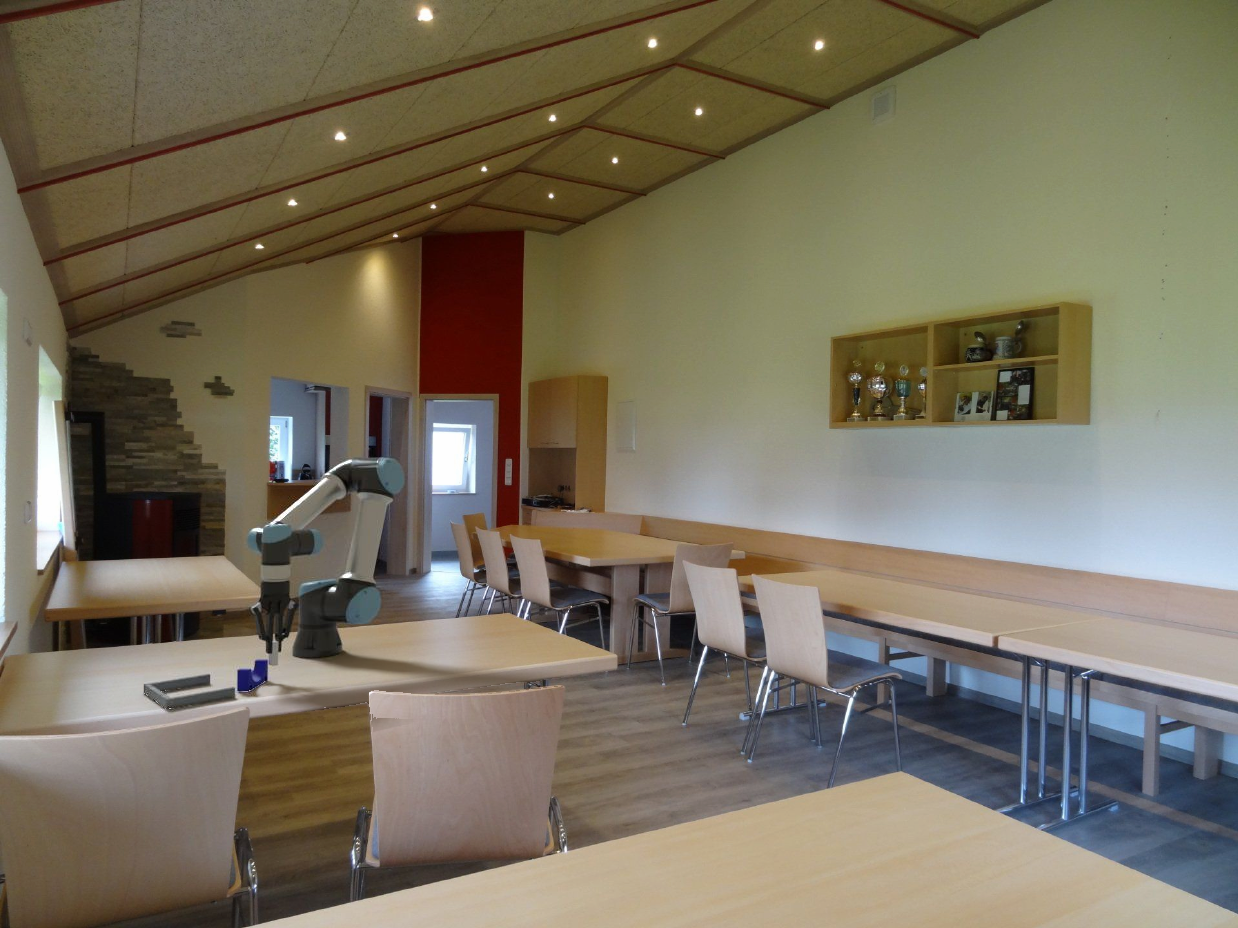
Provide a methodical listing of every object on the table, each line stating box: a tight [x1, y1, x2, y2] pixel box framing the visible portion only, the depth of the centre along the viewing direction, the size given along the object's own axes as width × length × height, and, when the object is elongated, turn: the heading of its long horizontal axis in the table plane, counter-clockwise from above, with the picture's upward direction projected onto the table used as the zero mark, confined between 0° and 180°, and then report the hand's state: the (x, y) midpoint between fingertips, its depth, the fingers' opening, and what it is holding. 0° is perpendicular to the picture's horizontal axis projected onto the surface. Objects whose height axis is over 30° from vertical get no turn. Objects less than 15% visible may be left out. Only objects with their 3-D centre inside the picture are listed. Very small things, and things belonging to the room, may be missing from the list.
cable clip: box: [236, 658, 269, 692], centre depth 223 cm, size 12×4×6 cm, turn 0°
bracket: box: [143, 673, 236, 710], centre depth 213 cm, size 16×19×2 cm
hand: (273, 664), depth 228 cm, fingers closed
